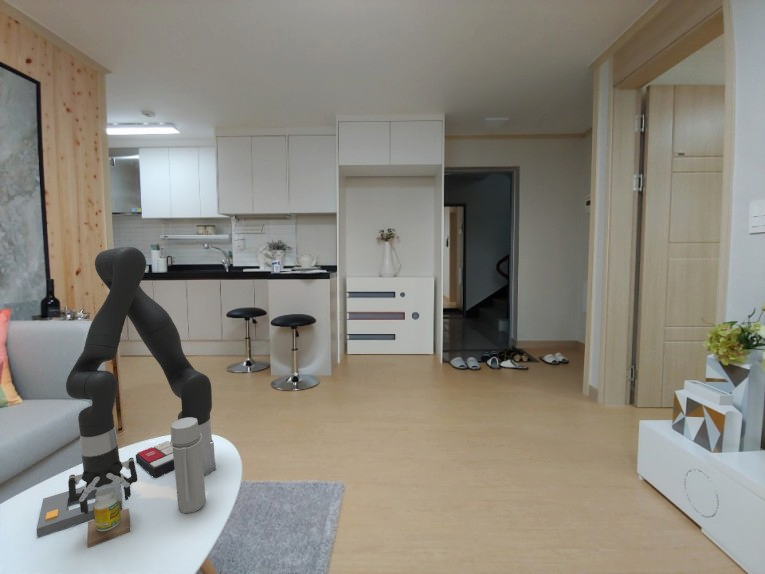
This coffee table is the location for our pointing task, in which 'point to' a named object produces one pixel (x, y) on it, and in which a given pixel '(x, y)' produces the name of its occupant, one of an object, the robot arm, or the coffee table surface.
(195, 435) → the water bottle
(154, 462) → the calculator
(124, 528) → the coaster pad
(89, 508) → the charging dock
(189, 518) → the coffee table surface
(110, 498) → the supplement bottle
